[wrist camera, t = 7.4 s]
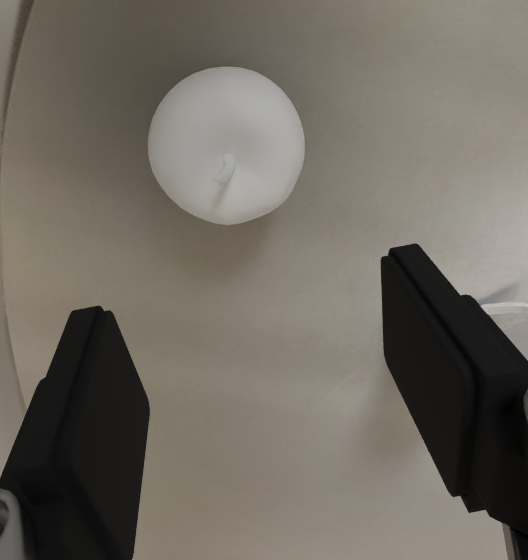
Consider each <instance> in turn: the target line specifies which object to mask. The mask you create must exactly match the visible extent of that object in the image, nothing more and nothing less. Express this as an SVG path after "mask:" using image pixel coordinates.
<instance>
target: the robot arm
mask: <svg viewBox="0 0 528 560" xmlns="http://www.w3.org/2000/svg"><path fill="white" fill-rule="evenodd" d="M381 285H382V315H383V346H384V356H385V360H386V364H387V366H388V368H389V370H390V372H391V375H392V377H393V379H394V381H395V383H396V385H397V387H398V389H399V391H400V393H401V395H402V397H403V399H404V401H405V403H406V405H407V407H408V410H409V412H410V414H411V416H412V418H413V420H414V422H415V424H416V426H417V428H418V430H419V432H420V434H421V436H422V438H423V440H424V442H425V445H426V447H427V449H428V451H429V453H430V455H431V457H432V459H433V461H434V463H435V465H436V467H437V469H438V471H439V473H440V475H441V477H442V480H443V482H444V484H445V486H446V488H447V490H448V491H449V493H450V494H451V496H453V497H456V496H461V498H462V500H463V502H464V504H465V506H466V508H467V510H468V512H469V513H471V512H476V511H481V510H486V511H487V513H488V514H489V516H490V517H492V518H494V519H496V520H498V521H500V522H502V525H503V531H504V538H505V544H506V550H507V556H508V560H528V361H527V359H526V358H525V357H524V356H523V355H522V354H521V353H520V351H519V350H518V349H517V348H516V347H515V346H514V344H513V343H512V342H511V341H510V340H509V339H508V337H507V336H506V335H505V334H504V333H503V332H502V330H501V329H500V328H499V327H498V326H497V325H496V323H495V322H494V321H493V320H492V319H491V318H490V317H489V315H488V314H487V313H486V312H485V311H484V310H483V308H482V307H481V306H480V305H479V304H478V303H477V301H476V300H475V299H474V298H472V297H471V296H470V295H461V296H460V294H459V293H458V292H457V291H456V290H455V288H454V287H453V286H452V285H451V283H450V282H449V281H448V280H447V279H446V277H445V276H444V275H443V274H442V273H441V271H440V270H439V269H438V268H437V267H436V265H435V264H434V263H433V262H432V260H431V259H430V258H429V257H428V256H427V254H426V253H425V252H424V251H423V250H422V248H421V247H420V246H419V245H418V244H410V245H405V246H400V247H395V248H390V250H389V253H388V256H383V257H382V258H381ZM149 416H150V407H149V401H148V398H147V395H146V393H145V390H144V388H143V385H142V383H141V380H140V378H139V375H138V373H137V371H136V368H135V366H134V363H133V361H132V358H131V356H130V353H129V351H128V349H127V346H126V344H125V341H124V339H123V336H122V334H121V331H120V329H119V327H118V324H117V322H116V319H115V317H114V315H113V313H112V312H111V311H110V310H108V311H104V310H103V309H102V307H101V306H94V307H89V308H84V309H79V310H74V311H72V312H71V314H70V316H69V318H68V321H67V323H66V326H65V328H64V331H63V334H62V336H61V339H60V341H59V344H58V346H57V349H56V352H55V354H54V357H53V359H52V362H51V364H50V367H49V370H48V372H47V375H46V377H45V378H44V379H42V380H41V381H40V382H39V384H38V386H37V388H36V390H35V393H34V395H33V398H32V400H31V403H30V405H29V408H28V410H27V413H26V415H25V417H24V420H23V422H22V425H21V427H20V430H19V433H18V435H17V437H16V440H15V442H14V445H13V447H12V450H11V452H10V455H9V457H8V460H7V462H6V465H5V467H4V470H3V472H2V475H1V478H0V560H132V558H133V553H134V545H135V537H136V528H137V519H138V511H139V502H140V493H141V485H142V476H143V468H144V459H145V450H146V442H147V433H148V424H149Z"/></svg>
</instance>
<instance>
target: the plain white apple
mask: <svg viewBox="0 0 528 560" xmlns="http://www.w3.org/2000/svg"><path fill="white" fill-rule="evenodd" d="M148 156H149V160H150V165H151V169H152V172H153V174H154V176H155V178H156V180H157V181H158V183H159V185H160V186H161V188H162V189H163V190H164V192H165V193H166V194H167V196H168V197H169V198H170V199H172V200H173V201H174V202H175V203H176V204H177V205H178V206H179V207H180V208H182V209H183V210H185V211H187V212H188V213H190V214H191V215H194V216H196V217H198V218H201V219H203V220H206V221H209V222H212V223H215V224H222V225H233V224H239V223H244V222H247V221H250V220H253V219H256V218H258V217H261V216H263V215H265V214H267V213H270V212H272V211H273V210H274V209H276V208H277V207H279V206H280V205H282V204H283V203H284V202H285V200H286V199H287V198H288V197H289V195H290V194H291V193H292V191H293V189H294V187H295V185H296V182H297V180H298V178H299V175H300V172H301V169H302V167H303V162H304V156H305V141H304V132H303V128H302V125H301V121H300V118H299V116H298V113H297V111H296V109H295V107H294V105H293V103H292V102H291V101H290V99H289V98H288V97H287V95H286V94H285V93H284V91H283V90H282V89H280V88H279V87H278V86H277V85H276V84H275V83H274V82H273V81H271V80H270V79H268V78H267V77H265V76H263V75H261V74H259V73H258V72H255V71H252V70H248V69H245V68H241V67H225V66H224V67H215V68H208V69H205V70H202V71H199V72H196V73H193V74H191V75H190V76H188V77H186V78H185V79H183V80H182V81H180V82H179V83H178V84H177V85H176V86H174V87H173V88H172V89H171V90H170V91H169V92H168V93H167V94H166V96H165V97H164V99H163V100H162V101H161V103H160V104H159V105H158V108H157V110H156V112H155V114H154V117H153V119H152V122H151V126H150V131H149V135H148Z"/></svg>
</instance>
